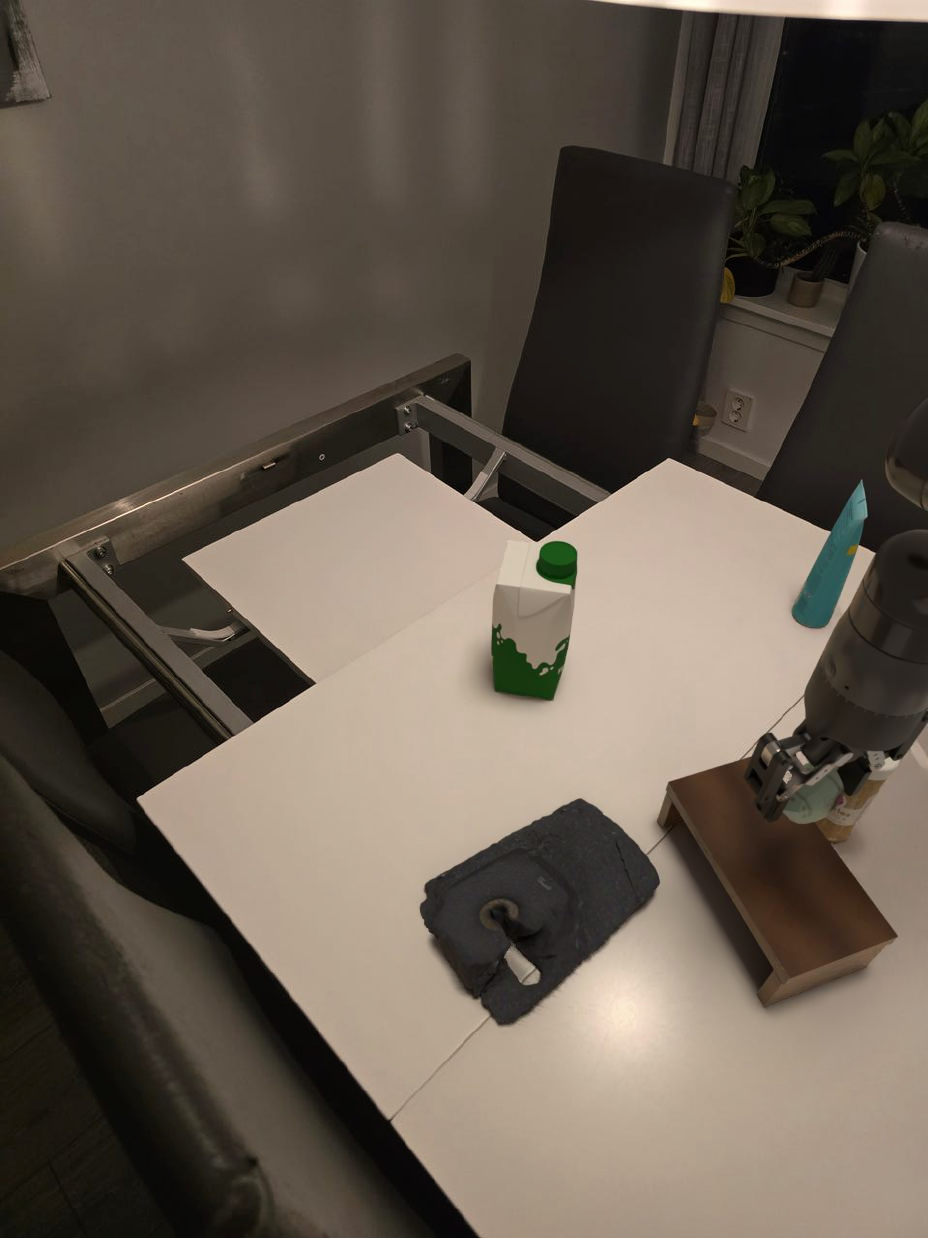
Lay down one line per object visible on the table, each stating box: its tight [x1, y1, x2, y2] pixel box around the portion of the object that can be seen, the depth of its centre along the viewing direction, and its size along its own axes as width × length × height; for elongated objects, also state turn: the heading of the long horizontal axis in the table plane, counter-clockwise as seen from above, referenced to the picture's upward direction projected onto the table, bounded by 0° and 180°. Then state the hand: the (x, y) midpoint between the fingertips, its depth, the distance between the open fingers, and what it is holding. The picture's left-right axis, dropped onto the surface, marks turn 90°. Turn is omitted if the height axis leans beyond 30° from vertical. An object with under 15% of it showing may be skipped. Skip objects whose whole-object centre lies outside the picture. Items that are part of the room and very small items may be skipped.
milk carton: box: [490, 539, 578, 701], centre depth 90 cm, size 9×9×20 cm
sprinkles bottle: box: [815, 757, 901, 843], centre depth 77 cm, size 5×5×14 cm
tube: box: [791, 479, 868, 629], centre depth 97 cm, size 7×5×19 cm, turn 169°
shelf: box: [656, 755, 899, 1007], centre depth 75 cm, size 11×20×7 cm, turn 19°
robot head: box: [783, 761, 844, 824], centre depth 66 cm, size 8×4×7 cm, turn 137°
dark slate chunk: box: [419, 797, 661, 1023], centre depth 74 cm, size 15×22×5 cm
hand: (805, 799), depth 66 cm, fingers closed on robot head, 7 cm apart
